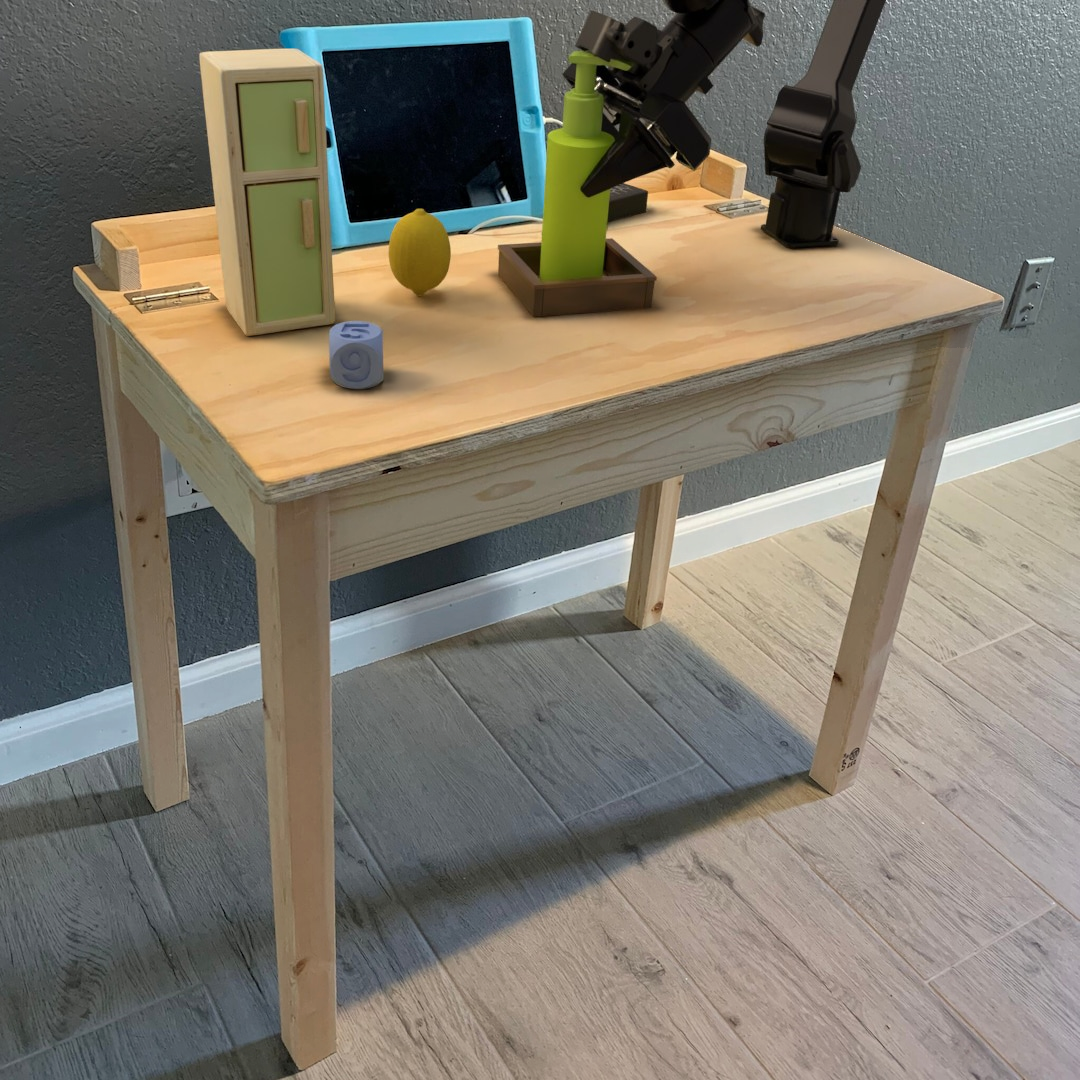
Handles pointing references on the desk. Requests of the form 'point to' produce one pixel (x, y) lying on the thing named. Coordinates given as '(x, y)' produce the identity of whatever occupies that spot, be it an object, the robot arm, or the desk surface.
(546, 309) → the brown wooden tray
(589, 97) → the soap dispenser
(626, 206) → the multiport hub
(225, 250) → the toy refrigerator
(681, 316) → the desk surface
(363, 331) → the decorative dice
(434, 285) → the lemon
